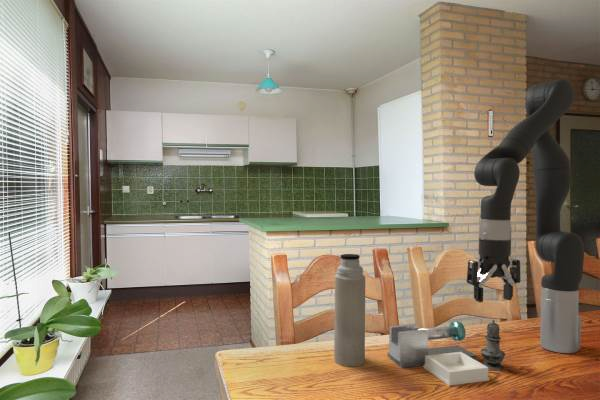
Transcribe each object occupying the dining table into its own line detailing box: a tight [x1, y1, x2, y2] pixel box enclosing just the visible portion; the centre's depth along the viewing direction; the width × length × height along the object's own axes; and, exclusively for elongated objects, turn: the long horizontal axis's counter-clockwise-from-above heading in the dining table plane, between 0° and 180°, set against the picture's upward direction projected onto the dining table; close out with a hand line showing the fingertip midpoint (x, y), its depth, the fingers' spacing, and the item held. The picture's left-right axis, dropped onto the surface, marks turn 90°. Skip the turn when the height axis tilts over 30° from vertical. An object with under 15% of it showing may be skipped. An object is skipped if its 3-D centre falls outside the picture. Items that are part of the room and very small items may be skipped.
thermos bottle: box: [333, 253, 366, 367], centre depth 117 cm, size 8×8×28 cm
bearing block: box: [387, 323, 478, 369], centre depth 120 cm, size 22×8×8 cm, turn 106°
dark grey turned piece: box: [480, 319, 506, 371], centre depth 114 cm, size 6×6×12 cm
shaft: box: [417, 321, 466, 342], centre depth 120 cm, size 13×5×5 cm, turn 106°
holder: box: [423, 352, 491, 387], centre depth 110 cm, size 11×11×3 cm
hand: (493, 300), depth 114 cm, fingers open, 8 cm apart
